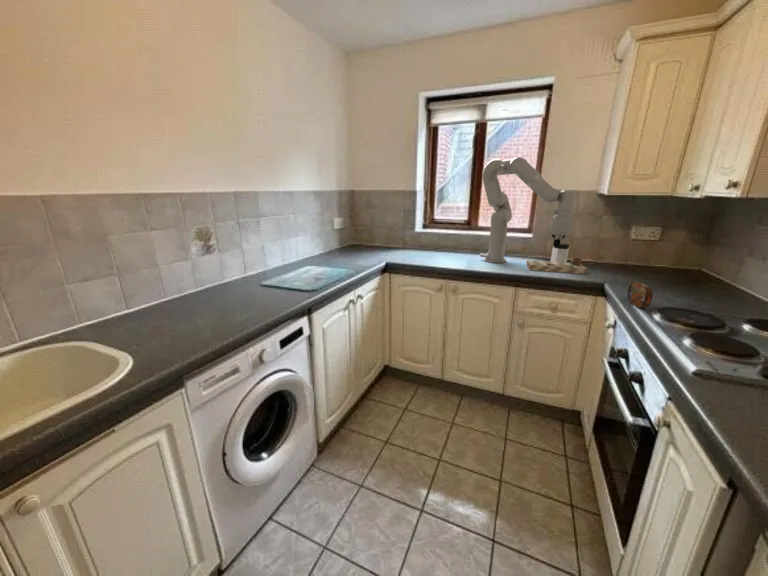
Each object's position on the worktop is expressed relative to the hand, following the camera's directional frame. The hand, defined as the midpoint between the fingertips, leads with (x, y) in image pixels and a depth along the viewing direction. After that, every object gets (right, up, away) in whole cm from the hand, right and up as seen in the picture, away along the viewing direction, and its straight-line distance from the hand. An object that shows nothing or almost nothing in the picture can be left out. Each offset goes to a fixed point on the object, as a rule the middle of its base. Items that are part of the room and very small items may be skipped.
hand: (555, 246), depth 185 cm
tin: (+3, -30, -55) cm, 63 cm away
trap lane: (-1, -13, 0) cm, 13 cm away
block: (+10, -10, -1) cm, 15 cm away
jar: (+10, -8, +16) cm, 21 cm away
